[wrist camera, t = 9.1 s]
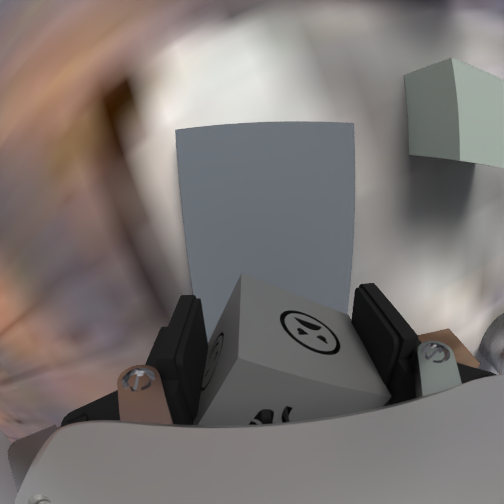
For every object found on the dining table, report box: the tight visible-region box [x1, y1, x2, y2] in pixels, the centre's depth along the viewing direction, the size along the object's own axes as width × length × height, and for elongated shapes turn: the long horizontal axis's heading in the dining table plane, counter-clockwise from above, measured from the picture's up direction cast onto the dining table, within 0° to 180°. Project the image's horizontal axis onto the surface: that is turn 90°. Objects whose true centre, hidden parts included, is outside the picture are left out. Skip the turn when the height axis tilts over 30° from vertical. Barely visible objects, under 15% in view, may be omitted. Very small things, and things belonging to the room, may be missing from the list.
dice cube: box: [193, 273, 392, 426], centre depth 10 cm, size 5×5×5 cm
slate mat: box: [175, 122, 355, 342], centre depth 16 cm, size 9×16×1 cm, turn 3°
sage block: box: [404, 58, 504, 168], centre depth 12 cm, size 6×5×5 cm
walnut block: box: [418, 329, 480, 368], centre depth 18 cm, size 6×5×5 cm
